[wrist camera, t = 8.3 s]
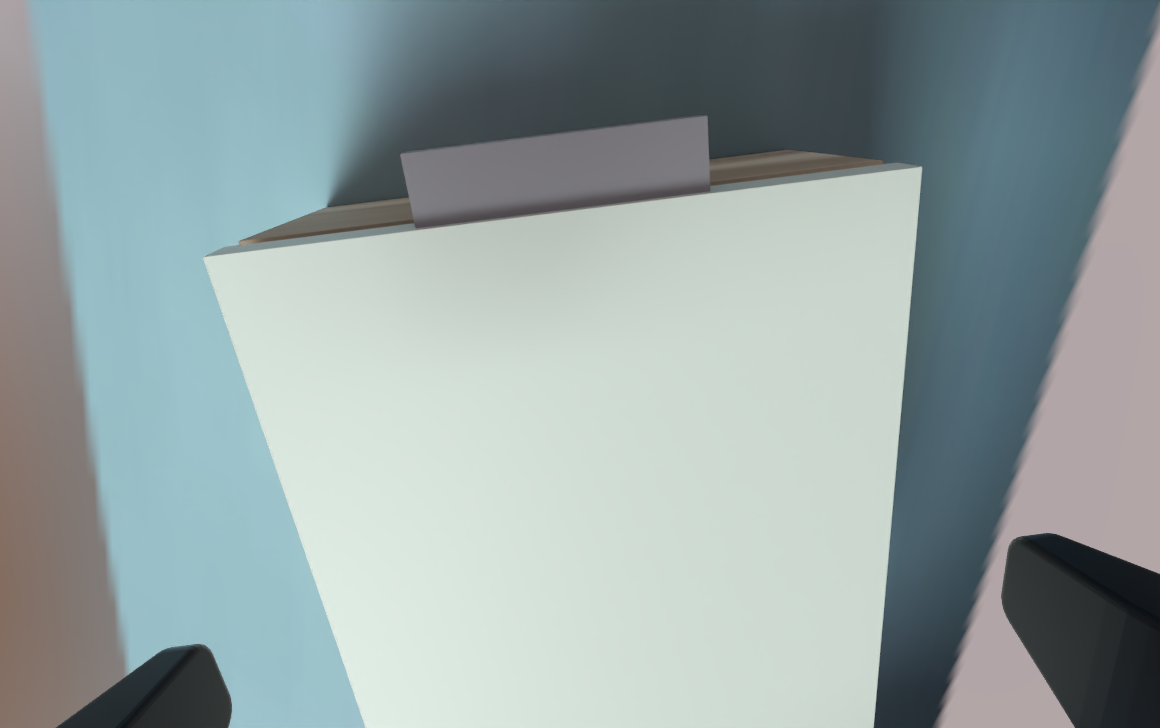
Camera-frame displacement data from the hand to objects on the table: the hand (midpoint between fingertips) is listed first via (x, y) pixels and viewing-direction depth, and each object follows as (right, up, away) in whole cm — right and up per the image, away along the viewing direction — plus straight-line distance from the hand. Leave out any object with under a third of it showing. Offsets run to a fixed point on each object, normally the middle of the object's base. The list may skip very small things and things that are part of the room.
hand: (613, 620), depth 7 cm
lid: (0, -1, +7) cm, 7 cm away
